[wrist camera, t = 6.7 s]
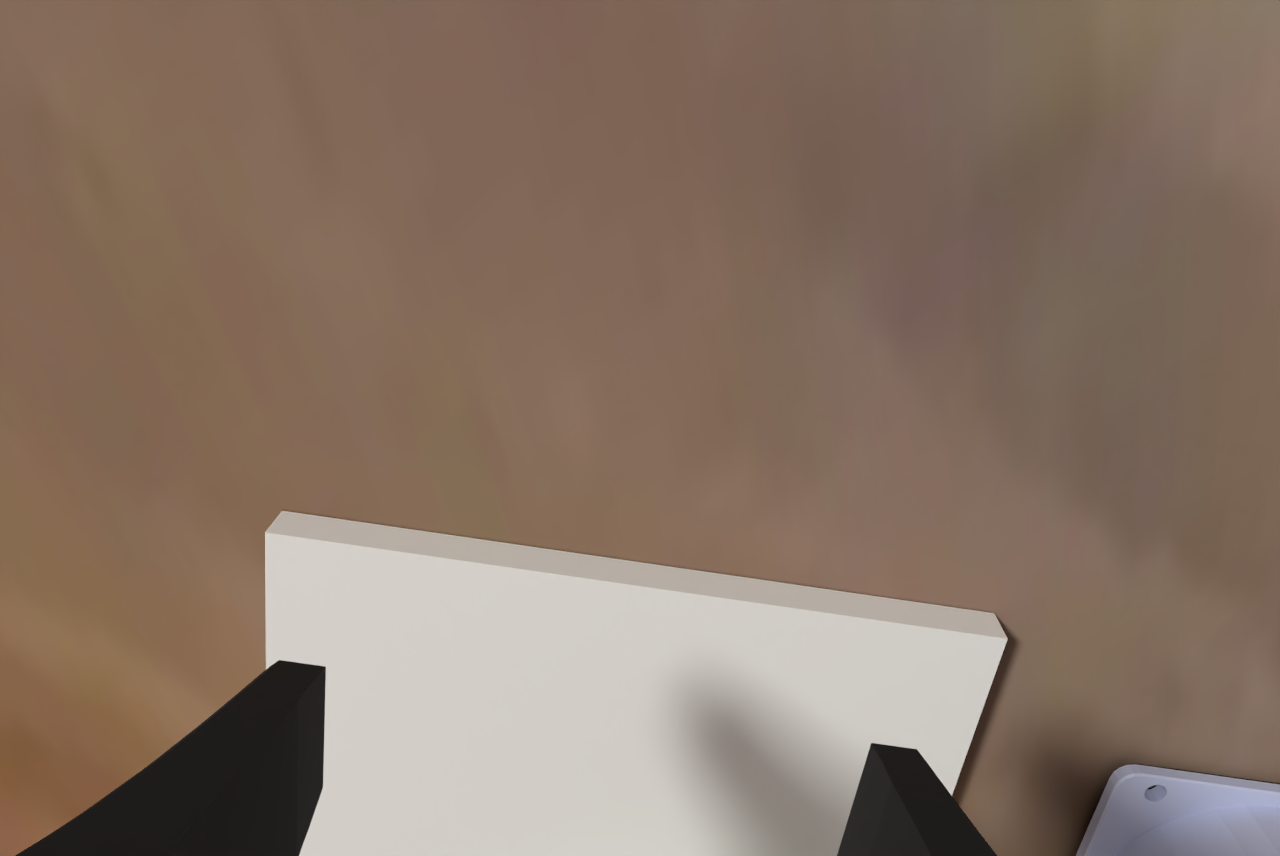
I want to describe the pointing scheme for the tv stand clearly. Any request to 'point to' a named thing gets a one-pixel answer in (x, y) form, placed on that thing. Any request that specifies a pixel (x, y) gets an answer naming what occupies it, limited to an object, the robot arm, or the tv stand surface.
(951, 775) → the baseplate
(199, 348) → the tv stand surface
